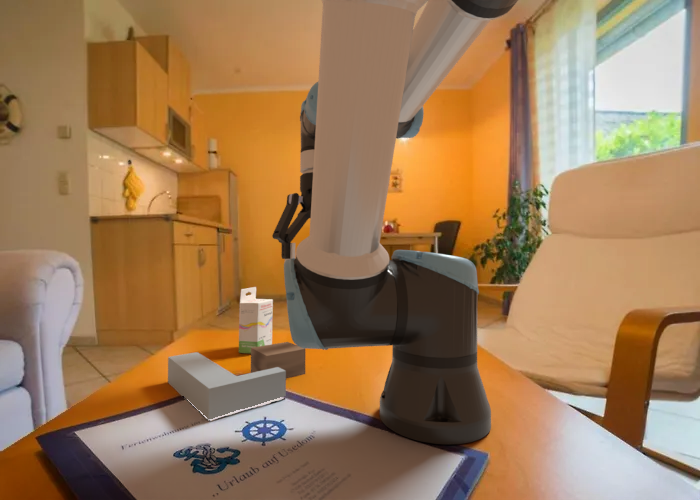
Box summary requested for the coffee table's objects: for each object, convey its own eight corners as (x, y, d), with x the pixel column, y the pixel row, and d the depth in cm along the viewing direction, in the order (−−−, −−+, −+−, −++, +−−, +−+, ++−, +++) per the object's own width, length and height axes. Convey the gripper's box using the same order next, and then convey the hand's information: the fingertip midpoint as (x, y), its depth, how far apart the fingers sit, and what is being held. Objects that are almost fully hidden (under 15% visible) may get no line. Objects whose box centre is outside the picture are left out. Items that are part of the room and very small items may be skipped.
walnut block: (305, 374, 70) (305, 348, 70) (266, 383, 65) (266, 355, 65) (287, 366, 75) (287, 341, 75) (250, 373, 70) (250, 347, 70)
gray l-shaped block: (285, 399, 57) (285, 370, 57) (208, 421, 49) (209, 388, 49) (233, 368, 72) (233, 346, 72) (167, 382, 64) (168, 356, 64)
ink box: (257, 354, 83) (258, 289, 83) (237, 353, 84) (238, 289, 84) (273, 345, 91) (273, 286, 91) (254, 344, 92) (255, 286, 92)
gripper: (349, 185, 88) (349, 273, 88) (255, 167, 71) (254, 275, 71) (371, 180, 83) (371, 274, 82) (275, 160, 66) (274, 277, 65)
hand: (317, 275), depth 76 cm, fingers open, 13 cm apart
